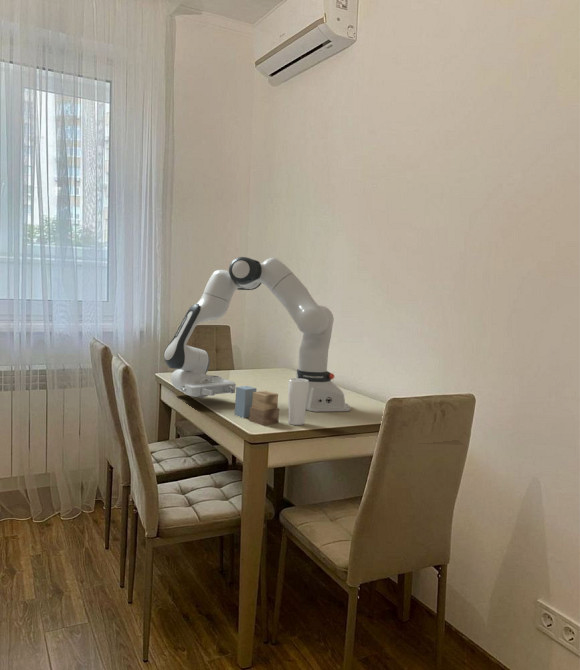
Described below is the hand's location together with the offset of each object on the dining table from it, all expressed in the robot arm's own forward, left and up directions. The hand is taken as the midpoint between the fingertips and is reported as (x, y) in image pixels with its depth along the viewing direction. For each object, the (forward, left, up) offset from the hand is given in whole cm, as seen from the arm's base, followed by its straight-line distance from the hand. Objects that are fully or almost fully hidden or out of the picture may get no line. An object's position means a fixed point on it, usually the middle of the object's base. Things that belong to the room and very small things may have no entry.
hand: (223, 392), depth 211 cm
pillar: (-8, +10, -6) cm, 14 cm away
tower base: (-14, +17, -6) cm, 23 cm away
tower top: (-14, +17, -1) cm, 22 cm away
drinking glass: (-25, +19, -6) cm, 32 cm away
